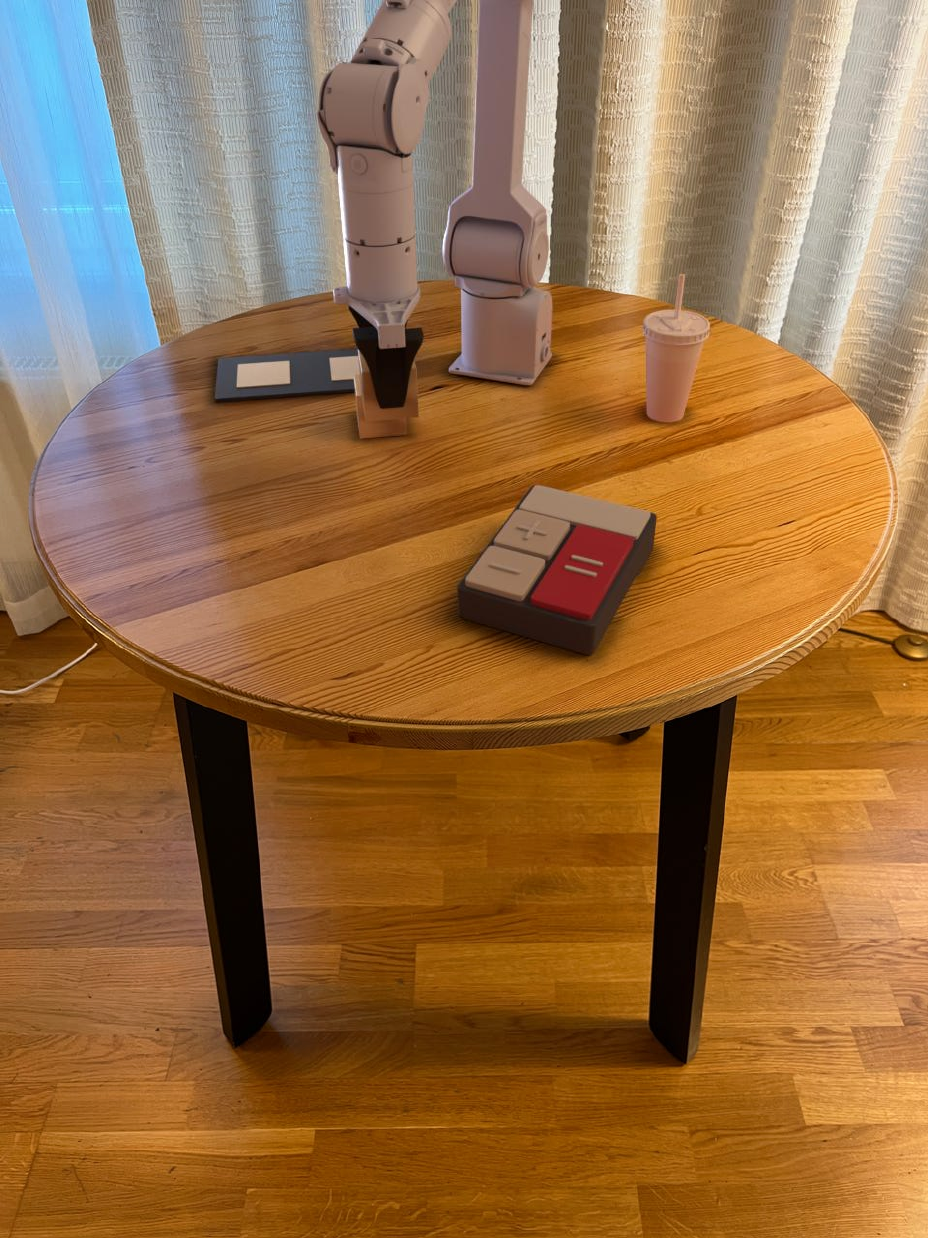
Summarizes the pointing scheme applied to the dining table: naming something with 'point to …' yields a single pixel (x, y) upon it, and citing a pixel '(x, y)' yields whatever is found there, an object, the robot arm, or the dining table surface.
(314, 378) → the word mat
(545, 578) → the calculator
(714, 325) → the dining table surface
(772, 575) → the dining table surface
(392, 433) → the letter block i
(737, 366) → the dining table surface
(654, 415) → the smoothie
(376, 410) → the letter block h
